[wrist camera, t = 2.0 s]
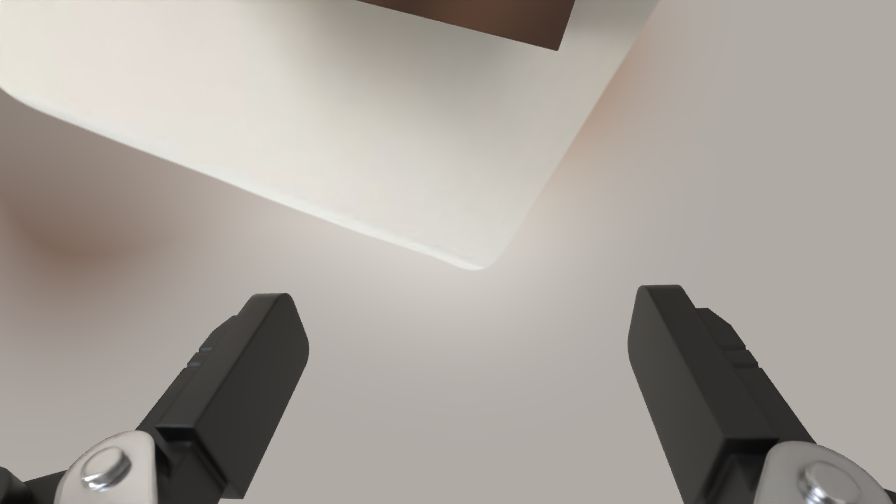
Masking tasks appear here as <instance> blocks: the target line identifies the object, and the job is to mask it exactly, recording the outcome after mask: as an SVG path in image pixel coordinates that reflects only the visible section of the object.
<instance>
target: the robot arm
mask: <svg viewBox="0 0 896 504" xmlns="http://www.w3.org/2000/svg"><path fill="white" fill-rule="evenodd" d="M628 354H629V359H630V363H631V366H632V369H633V371H634V374H635V376H636V379H637V382H638V384H639V387H640V390H641V392H642V395H643V397H644V400H645V403H646V405H647V408H648V410H649V413H650V416H651V418H652V421H653V423H654V426H655V428H656V431H657V434H658V436H659V439H660V442H661V444H662V447H663V450H664V452H665V455H666V458H667V460H668V463H669V465H670V468H671V471H672V473H673V476H674V478H675V481H676V484H677V486H678V489H679V492H680V494H681V497H682V499H683V502H684V504H896V493H895V492H892V491H889V490H886V489H883V488H882V487H881V486H880V485H879V484H878V482H876V480H875V479H874V478H873V477H872V476H871V475H869V474H868V473H867V472H866V471H865V470H864V469H863V468H861V467H859V465H857V464H856V463H854V462H853V461H851V460H850V459H848V458H846V457H845V456H843V455H841V454H839V453H837V452H835V451H833V450H831V449H829V448H826V447H824V446H821V445H817V444H816V442H815V441H814V440H813V439H812V437H811V436H810V435H809V433H808V432H807V431H806V429H805V428H804V426H803V425H802V423H801V422H800V421H799V420H798V418H797V416H796V415H795V414H794V412H793V411H792V410H791V408H790V407H789V405H788V404H787V403H786V401H785V400H784V399H783V397H782V396H781V394H780V393H779V391H778V390H777V389H776V387H775V386H774V384H773V383H772V382H771V380H770V379H769V378H768V376H767V375H766V373H765V372H764V371H763V369H762V368H759V367H758V362H757V361H756V359H755V358H754V357H753V355H752V354H751V352H750V351H749V350H746V348H745V344H744V343H743V341H742V340H741V339H740V337H739V336H738V335H737V333H736V332H735V330H734V329H733V328H732V326H731V325H730V324H729V323H727V322H726V321H724V320H723V319H722V318H721V317H719V316H718V315H716V314H715V313H714V312H712V311H711V310H710V309H708V308H695V306H694V305H693V303H692V302H691V300H690V299H689V297H688V296H687V294H686V293H685V291H684V289H683V288H682V287H681V286H680V285H644V286H643V285H642V286H640V287H639V288H638V291H637V294H636V300H635V304H634V310H633V314H632V320H631V325H630V330H629V335H628ZM308 356H309V342H308V338H307V336H306V333H305V331H304V328H303V325H302V322H301V320H300V317H299V314H298V312H297V309H296V306H295V304H294V301H293V299H292V297H291V296H290V295H289V294H287V293H270V294H255V295H253V296H252V297H251V298H250V299H249V300H248V302H247V303H246V304H245V306H244V307H243V308H242V310H241V311H240V312H239V314H238V315H237V316H232V317H231V318H229V319H228V320H227V321H225V322H224V323H223V324H221V325H220V326H219V327H218V328H216V329H215V330H214V331H213V332H212V333H211V334H210V335H209V337H208V338H207V339H206V341H205V342H204V343H203V344H202V346H201V347H200V348H199V352H198V353H195V355H194V356H193V357H192V358H191V360H190V361H189V362H188V363H187V368H184V369H183V370H182V371H181V372H180V374H179V375H178V376H177V378H176V379H175V380H174V381H173V383H172V384H171V386H169V388H168V389H167V390H166V392H165V393H164V394H163V395H162V397H161V398H160V399H159V400H158V402H157V403H156V405H155V406H154V407H153V408H152V410H151V411H150V412H149V413H148V415H147V416H146V417H145V418H144V420H143V421H142V422H141V423H140V425H139V426H138V427H137V428H136V429H135V431H126V432H122V433H119V434H116V435H114V436H111V437H109V438H107V439H105V440H103V441H101V442H100V443H98V444H96V445H95V446H93V447H92V448H91V449H89V450H88V451H86V452H85V453H84V454H83V455H82V456H81V457H79V458H78V459H77V460H76V461H75V462H74V463H73V464H72V465H71V466H70V468H69V469H68V470H65V471H62V472H58V473H54V474H51V475H47V476H44V477H40V478H37V479H33V480H29V481H26V482H22V481H20V480H19V479H18V478H17V477H16V476H14V475H13V474H12V473H11V472H10V471H8V470H7V469H6V468H3V467H0V504H218V502H219V500H220V498H226V499H243V498H244V496H245V494H246V491H247V489H248V487H249V485H250V483H251V481H252V479H253V477H254V474H255V473H256V470H257V468H258V466H259V464H260V462H261V459H262V458H263V455H264V453H265V451H266V449H267V447H268V445H269V443H270V440H271V438H272V436H273V434H274V432H275V430H276V428H277V426H278V424H279V421H280V419H281V417H282V415H283V413H284V411H285V409H286V407H287V404H288V402H289V400H290V398H291V396H292V394H293V391H294V390H295V387H296V385H297V383H298V381H299V379H300V377H301V375H302V372H303V370H304V368H305V366H306V364H307V360H308Z"/></svg>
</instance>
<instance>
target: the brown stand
mask: <svg viewBox="0 0 896 504" xmlns="http://www.w3.org/2000/svg"><path fill="white" fill-rule="evenodd" d="M357 1H361V2H365V3H369V4H373V5H377V6H381V7H385V8H389V9H393V10H397V11H401V12H405V13H408V14H412V15H416V16H420V17H424V18H428V19H432V20H436V21H440V22H444V23H448V24H452V25H456V26H460V27H464V28H468V29H472V30H476V31H480V32H484V33H488V34H492V35H496V36H500V37H504V38H507V39H511V40H515V41H519V42H523V43H527V44H531V45H535V46H539V47H543V48H547V49H551V50H555V51H558V49H559V46H560V43H561V40H562V37H563V34H564V32H565V29H566V26H567V23H568V20H569V17H570V14H571V11H572V8H573V5H574V2H575V0H357Z"/></svg>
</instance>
